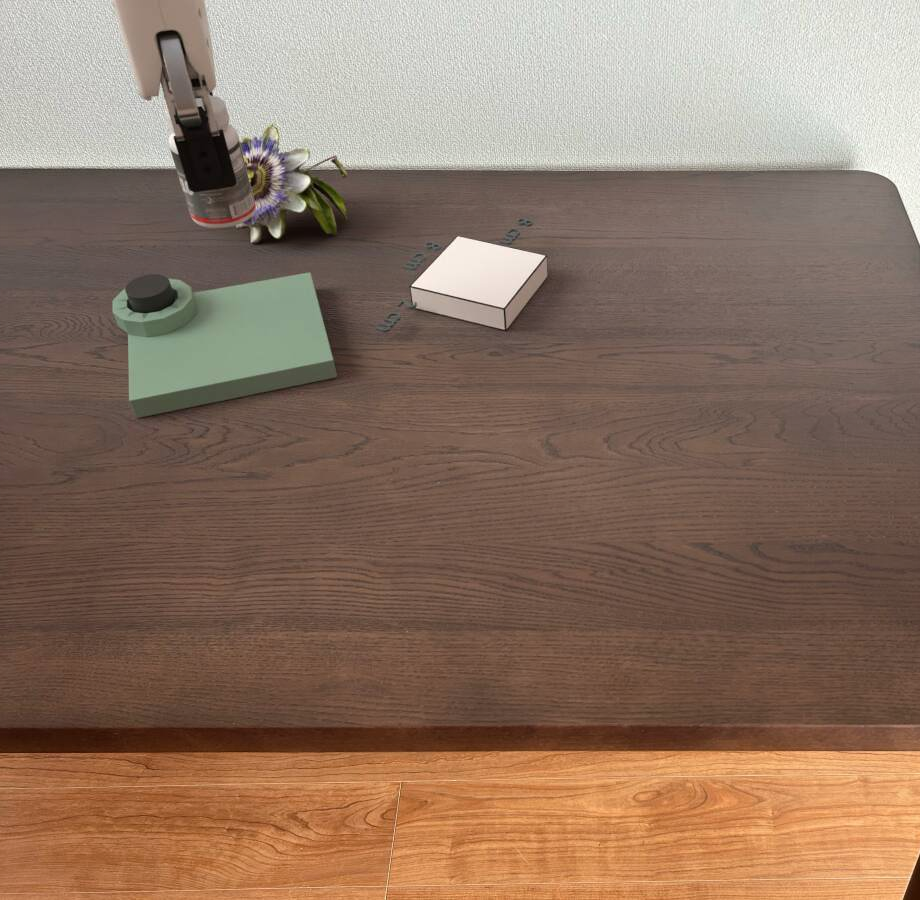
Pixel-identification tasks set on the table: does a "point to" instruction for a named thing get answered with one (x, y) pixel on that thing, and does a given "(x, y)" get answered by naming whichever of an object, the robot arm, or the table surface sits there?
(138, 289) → the button
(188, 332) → the scale
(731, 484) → the table surface
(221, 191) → the pill bottle
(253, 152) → the passion flower
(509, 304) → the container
